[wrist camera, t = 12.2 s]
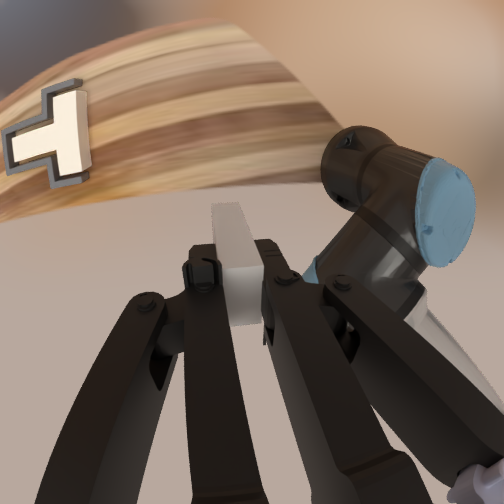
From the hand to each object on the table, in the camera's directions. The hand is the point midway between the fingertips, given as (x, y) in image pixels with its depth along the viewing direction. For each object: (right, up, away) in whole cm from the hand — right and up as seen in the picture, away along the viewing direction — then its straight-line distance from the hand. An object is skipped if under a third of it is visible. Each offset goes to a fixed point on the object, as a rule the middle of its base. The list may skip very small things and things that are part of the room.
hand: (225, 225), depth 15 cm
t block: (-29, +17, +16) cm, 37 cm away
